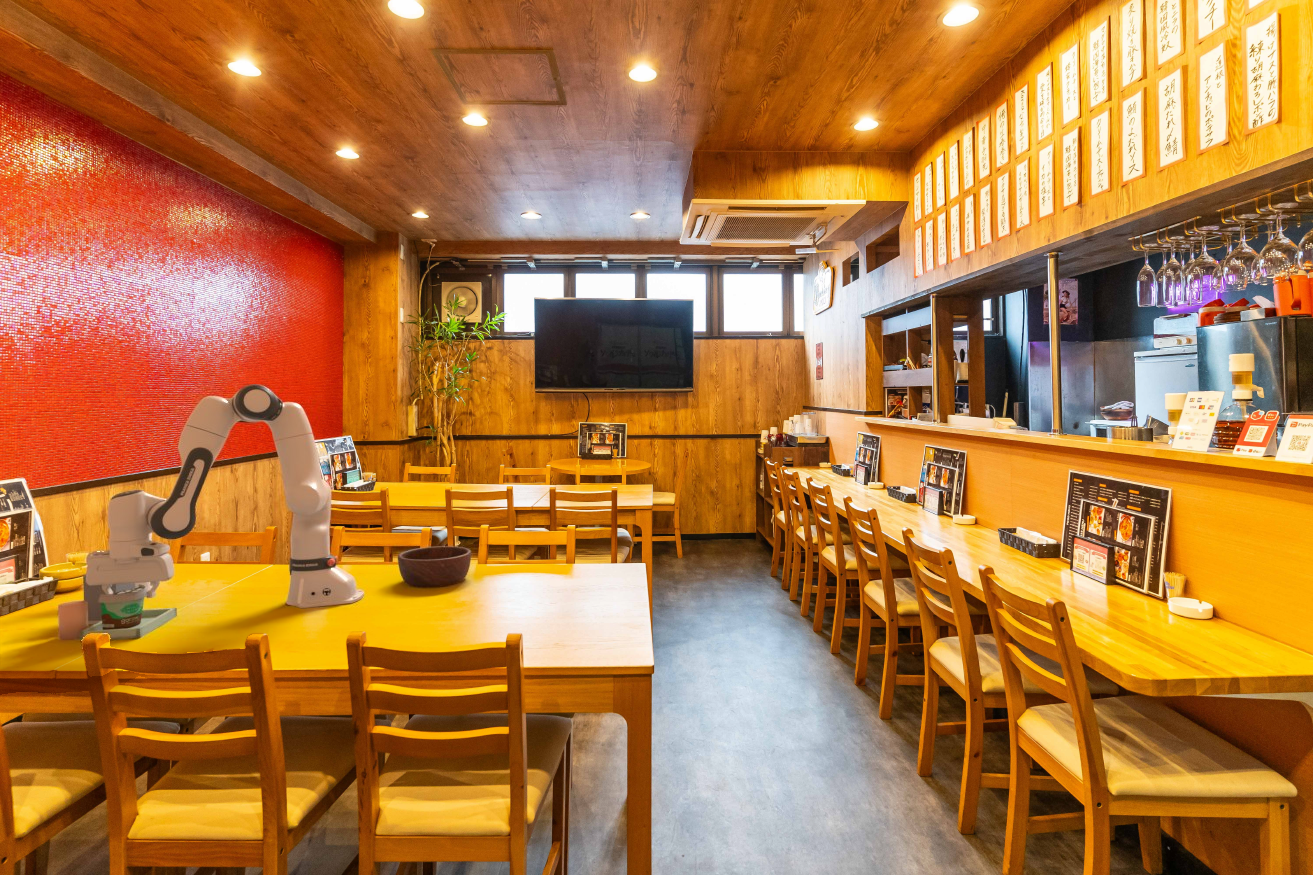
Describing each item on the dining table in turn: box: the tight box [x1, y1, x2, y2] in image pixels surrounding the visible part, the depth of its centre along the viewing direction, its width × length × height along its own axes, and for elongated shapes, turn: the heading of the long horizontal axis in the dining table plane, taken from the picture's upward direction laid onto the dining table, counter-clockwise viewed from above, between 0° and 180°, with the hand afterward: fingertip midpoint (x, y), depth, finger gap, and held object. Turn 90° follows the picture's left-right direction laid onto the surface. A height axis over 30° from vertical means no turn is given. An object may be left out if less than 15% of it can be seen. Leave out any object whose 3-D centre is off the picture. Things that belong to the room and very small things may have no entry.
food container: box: [98, 584, 147, 630], centre depth 187 cm, size 12×6×10 cm, turn 170°
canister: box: [57, 600, 89, 642], centre depth 181 cm, size 6×6×9 cm
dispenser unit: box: [82, 573, 135, 626], centre depth 197 cm, size 10×12×14 cm
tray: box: [78, 607, 178, 643], centre depth 188 cm, size 14×20×2 cm
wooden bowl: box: [397, 545, 472, 588], centre depth 241 cm, size 25×25×10 cm
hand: (131, 598), depth 188 cm, fingers open, 8 cm apart
